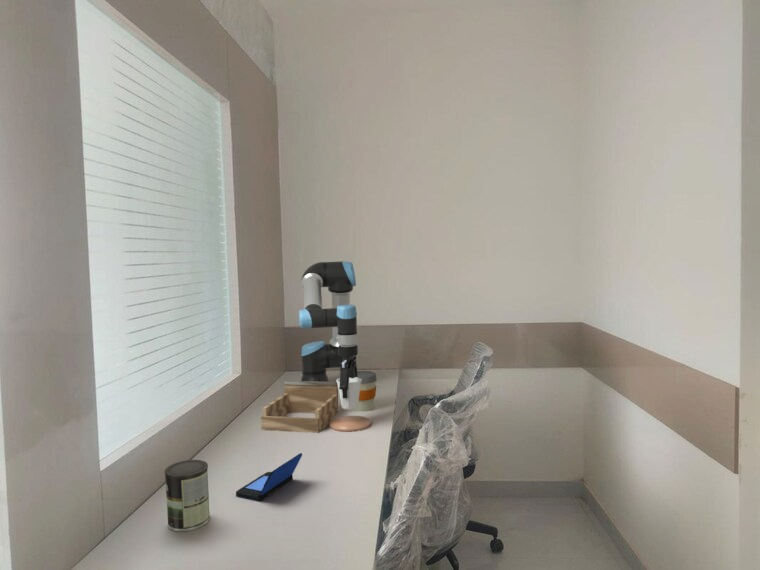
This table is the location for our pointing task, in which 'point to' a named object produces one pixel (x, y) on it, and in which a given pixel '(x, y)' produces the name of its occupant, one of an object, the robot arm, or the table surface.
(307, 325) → the robot arm
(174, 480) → the coffee can
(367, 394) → the reusable coffee cup
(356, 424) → the saucer
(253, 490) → the handheld game console
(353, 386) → the cup
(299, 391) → the frame
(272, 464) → the table surface
